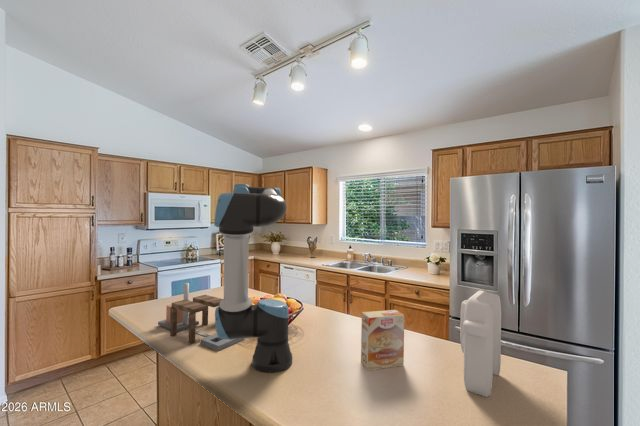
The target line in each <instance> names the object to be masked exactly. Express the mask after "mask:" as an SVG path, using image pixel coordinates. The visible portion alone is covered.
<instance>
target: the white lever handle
mask: <svg viewBox="0 0 640 426" xmlns="http://www.w3.org/2000/svg"><path fill="white" fill-rule="evenodd" d="M182 300H189V301H190V283H189V282H185V283H183V299H182ZM165 307H166V311H165V312H166V313H165V314H166V319H162V320H160V321H157V325H158V326H160V327H163V328H165V329H167V330H170V308H171V307H172V303H171V304H168V305H166V306H165ZM198 325H200V321H198V320H196V326H198ZM187 328H189V312H185V311H182V310H179V309H177V332H181V331H183V330H185V329H187Z"/></svg>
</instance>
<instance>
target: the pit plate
mask: <svg viewBox="0 0 640 426" xmlns="http://www.w3.org/2000/svg"><path fill="white" fill-rule="evenodd" d="M209 335H210V336H208V337H205V336H204V337H202V338H200V345H203V346H204V347H208V348H211V349H212V350H216V351H218V352H220V351H221V350H224V349H226V348H228V347H231V346H233V345H235V344H238V343H240V342H242V341H244V340H245V338H240V339H232V340H229V339H220V338H219V337H218V335H217V332H216V333H214V334H209Z"/></svg>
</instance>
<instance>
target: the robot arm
mask: <svg viewBox="0 0 640 426" xmlns="http://www.w3.org/2000/svg"><path fill="white" fill-rule="evenodd" d="M286 212H287V202H286V200H285V199H284V198H283V197H282V191H281V188H280V187H275V186H274V187H267V186H266V187H260V186H250V185H249V184H246V183H236V184H234V185H233V191H232V192H224V193H223V192H222V193H220V194H219V196H218V197H217V200H216V208H215V214H214V227H217V228H218V232H219V234H221V236H222V237H223V298H222V299H223V300H222V301H221V302H220V304H219V306H217V307H215V310H214V323H215V324H214V325H215V332H216V333H217V335H218V337H219V338H220V339H229V340H232V339H240V338H244V339H249V338H251V339H253V338H257V340H256V341H257V342H256V347H255V349H254V353H253V355H252V358H251V359H252V360H251V361H252V362H251V364H252V367H253V369H255V370H256V371H259V372H263V373H278V372H282V371H284V370H287V369H288V368H290V367H291V366H292V364H293V353H292V351H291V348H290V344H289V318H290V315H289V314H290V313H289V306H288V304H287V303H285V302H284V301H282V300H278V299H272V298H264V299H259V300H258V301H257V304H253V300H252V299H251V298H250V297H249V261H250V260H249V250H250V249H249V247H250V246H249V245H250V244H249V243H250V237H251V235H252V234H253V233H254V228H255V227H256V228H257V227H258V228H260V227H261V228H263V227H269V226H272V225H274V224H276V223H277V222H279V221H281V220H282V219H283V218H284V216H285V215H286Z"/></svg>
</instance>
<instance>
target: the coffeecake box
mask: <svg viewBox="0 0 640 426" xmlns="http://www.w3.org/2000/svg"><path fill="white" fill-rule="evenodd" d="M360 335H361V337H360V338H361V339H360V343H361V344H360V347H361V348H360V363H361V364H362V365H363V366H364V368H365V369H366V370H367V371H368V370H369V371H375V370H374V369H376V370H381V369H382V368H383V369H391V368H397V366H399V367H403V366H404V361H405V360H404V358H405V357H404V355H405V354H404V351H405V348H404V347H405V314H403V312H400V311H398V310H396V309H390V310H389V309H388V310H387V309H386V310H378V311H377V310H375V311H374V310H373V311H361V333H360ZM390 367H391V368H390Z"/></svg>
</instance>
